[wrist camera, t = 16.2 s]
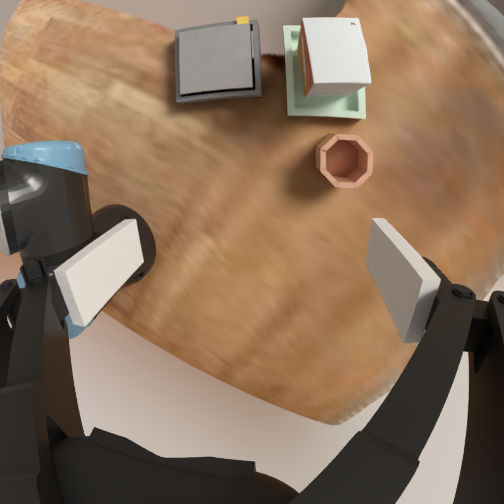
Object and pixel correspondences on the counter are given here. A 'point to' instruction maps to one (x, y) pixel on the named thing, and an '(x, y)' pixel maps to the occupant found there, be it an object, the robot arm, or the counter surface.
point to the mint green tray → (315, 106)
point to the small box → (332, 56)
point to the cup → (344, 160)
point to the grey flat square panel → (215, 59)
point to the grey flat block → (223, 95)
